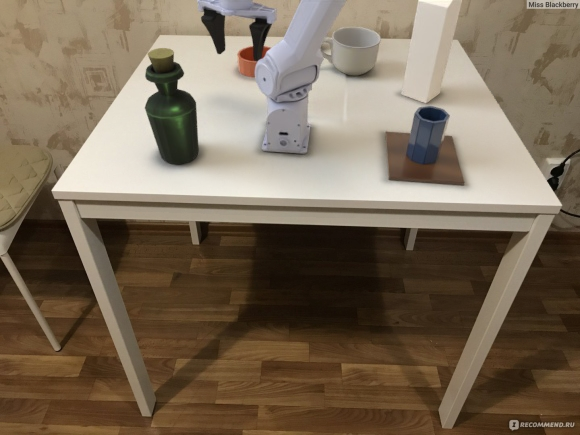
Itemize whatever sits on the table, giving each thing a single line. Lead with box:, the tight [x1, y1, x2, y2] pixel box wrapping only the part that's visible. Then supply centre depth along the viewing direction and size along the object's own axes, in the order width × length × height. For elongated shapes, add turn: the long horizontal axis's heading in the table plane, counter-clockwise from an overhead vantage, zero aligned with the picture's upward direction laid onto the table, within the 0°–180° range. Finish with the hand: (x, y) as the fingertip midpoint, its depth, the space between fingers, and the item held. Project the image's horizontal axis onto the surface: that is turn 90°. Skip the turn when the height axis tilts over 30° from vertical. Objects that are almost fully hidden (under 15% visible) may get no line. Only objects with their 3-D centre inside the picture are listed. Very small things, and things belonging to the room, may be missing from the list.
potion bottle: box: [144, 47, 200, 165], centre depth 74 cm, size 8×8×18 cm
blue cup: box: [406, 105, 451, 165], centre depth 76 cm, size 5×5×8 cm
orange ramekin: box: [236, 45, 272, 78], centre depth 104 cm, size 9×9×4 cm
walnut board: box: [384, 131, 465, 186], centre depth 79 cm, size 14×12×1 cm
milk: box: [400, 0, 463, 104], centre depth 90 cm, size 6×6×22 cm
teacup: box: [319, 26, 382, 76], centre depth 103 cm, size 14×11×8 cm
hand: (239, 55), depth 86 cm, fingers open, 7 cm apart
